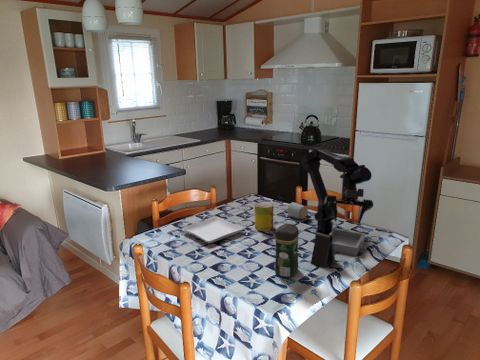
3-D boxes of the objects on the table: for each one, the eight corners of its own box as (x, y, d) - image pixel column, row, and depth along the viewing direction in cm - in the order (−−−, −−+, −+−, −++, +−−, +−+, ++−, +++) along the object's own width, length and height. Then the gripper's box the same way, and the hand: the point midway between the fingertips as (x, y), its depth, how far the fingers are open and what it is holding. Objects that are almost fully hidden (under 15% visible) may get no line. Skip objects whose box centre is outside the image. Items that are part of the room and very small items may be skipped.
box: (323, 249, 160) (323, 241, 159) (333, 235, 173) (333, 228, 172) (356, 255, 153) (357, 247, 152) (364, 241, 167) (364, 233, 166)
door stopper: (324, 268, 144) (325, 239, 141) (310, 263, 148) (311, 235, 144) (335, 259, 150) (336, 232, 147) (321, 255, 154) (322, 228, 151)
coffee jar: (281, 264, 148) (281, 220, 143) (300, 268, 144) (301, 223, 139) (271, 275, 139) (271, 229, 134) (292, 280, 136) (292, 233, 131)
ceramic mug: (300, 221, 191) (300, 207, 189) (286, 217, 197) (287, 203, 195) (311, 216, 199) (311, 202, 197) (298, 212, 204) (298, 199, 202)
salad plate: (208, 248, 164) (208, 240, 163) (182, 234, 180) (181, 227, 179) (244, 234, 178) (244, 227, 177) (217, 222, 193) (216, 216, 192)
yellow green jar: (270, 232, 179) (270, 208, 176) (252, 230, 182) (252, 206, 179) (275, 225, 187) (275, 202, 184) (258, 223, 190) (257, 201, 187)
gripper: (329, 177, 150) (327, 215, 145) (377, 183, 148) (376, 221, 143) (325, 186, 160) (322, 221, 155) (370, 191, 158) (368, 227, 153)
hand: (347, 222), depth 151 cm, fingers open, 9 cm apart
